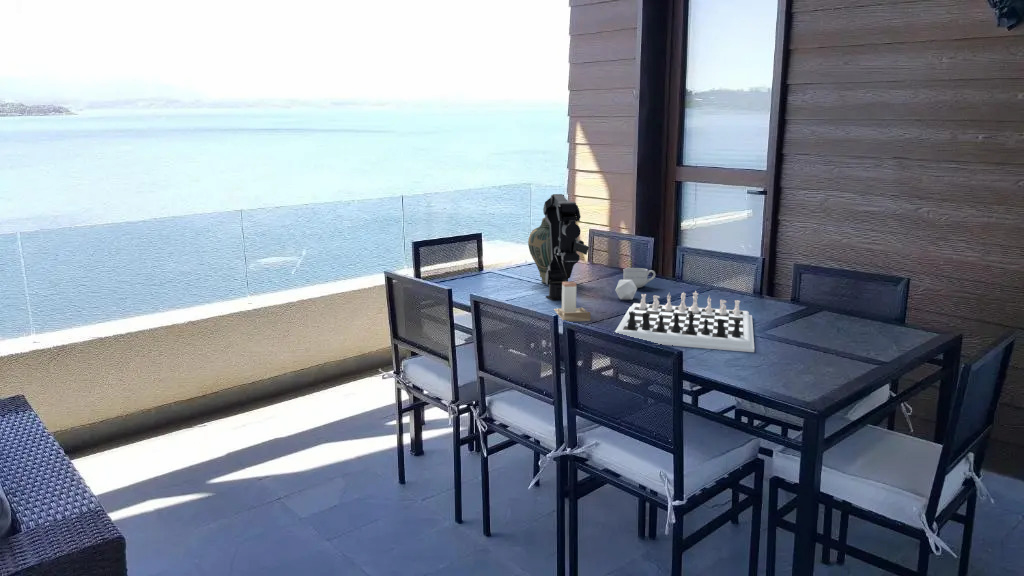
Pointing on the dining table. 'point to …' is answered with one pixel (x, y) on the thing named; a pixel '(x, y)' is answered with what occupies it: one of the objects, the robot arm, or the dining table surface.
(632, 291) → the die
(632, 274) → the teacup
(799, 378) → the dining table surface
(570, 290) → the block
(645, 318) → the chess set
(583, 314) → the tray
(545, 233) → the vase
